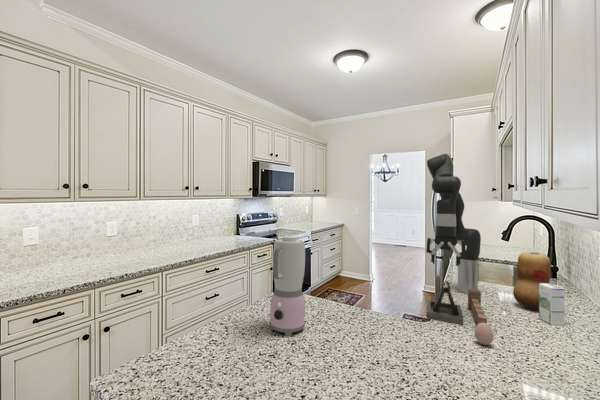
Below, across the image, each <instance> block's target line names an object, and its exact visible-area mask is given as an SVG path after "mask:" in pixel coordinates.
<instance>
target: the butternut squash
mask: <svg viewBox="0 0 600 400" xmlns="http://www.w3.org/2000/svg"><path fill="white" fill-rule="evenodd" d="M516 264H517V265H516V271H517V272H516V273H517V281H516V282H515V285H514V287H513V290H512V292H513V293H512V294H513V298H514V300H515V301H516V302H518V304H520V305H521V306H524V307H525V306H526V307H525V308H529V309H532V310H537V309H539V283H540V284H541V283H550V280H551V278H552V273H551V272H552V270H551V269H552V264H551V259H550V257H549V256H547V255H546V254H545V253H542V252H539V251H525V252H521V253H520V254H519V255H518V258H517V263H516Z"/></svg>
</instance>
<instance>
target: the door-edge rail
mask: <svg viewBox="0 0 600 400" xmlns="http://www.w3.org/2000/svg"><path fill="white" fill-rule="evenodd" d="M481 303H482V292H481V290H479V289H478V290H471V289H468V294H467V308H468V311H471V314H472V317H473V319H474V322H475V325H476V326H477V325H478V324H479V323H486V324H487V325H488V317H487V316H486V314H485V312H484V309H483V307H482V305H481Z"/></svg>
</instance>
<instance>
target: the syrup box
mask: <svg viewBox="0 0 600 400" xmlns="http://www.w3.org/2000/svg"><path fill="white" fill-rule="evenodd" d="M565 303H566V288H565V287H563V286H561V285H557V284H554V283H550V282H549V283H541V284H540V283H539V310H538V319H539V320H540V321H543V322H544V323H547V324H549V325H554V326H566V304H565Z"/></svg>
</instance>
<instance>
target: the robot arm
mask: <svg viewBox="0 0 600 400" xmlns="http://www.w3.org/2000/svg"><path fill="white" fill-rule="evenodd" d="M426 166H427V169H428V171H429V174H430V175H431V178H432V183H431V188H432V191H433V192H434V193H436V194H439V196H440V199H439V200H437V201H436V207H435V209H436V213H435V237H434V238H430V237H427V239H426V253H427V254H430V258H431V259H430V262H431V263H432V264H434V265H436V264H435V263H436V259H435V258H436V253H437V252H438V251H439V250H442V251H444V250H446V251H451V250H452V251H453V253H454V254H455V255H456V256H455V257H456V258H455V266H456V267H457V291H458V292H459V293H462V292H463V293H464V294H467V293H468V289H471V290H479V257H480V253H481V242H482V241H481V240H482V237H481V232H480V231H479V230H478V229H475V228H466V227H465V226H464V222H463V218H462V217H463V214H464V211H465V202H464V200H463V198H462V197H463V196H462V195H461V193H460V190H461V186H462V181H461V179H460V178H459V176H454V174H453V172H454V164H453V160H452V158H451V156H450V155H449V154H447V153H442V154H439V155H437V156H434V157H431V158H429V159H427V161H426ZM433 243H435V244H436V246H434V248H433V249H432V250H431V245H432V244H433ZM458 244H459V247H461V251H460V252H459V251H458V249H457V248H456V245H458ZM463 293H462V294H463Z"/></svg>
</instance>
